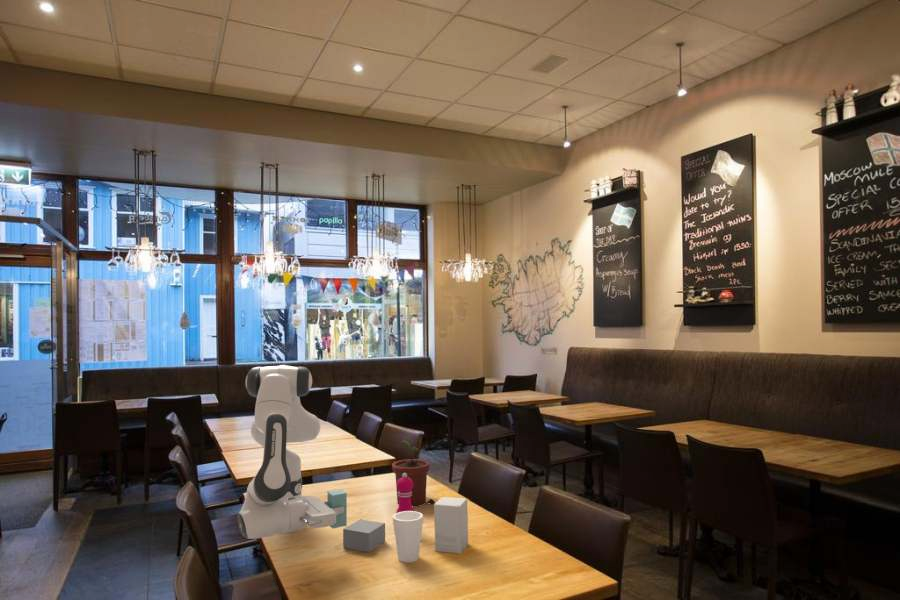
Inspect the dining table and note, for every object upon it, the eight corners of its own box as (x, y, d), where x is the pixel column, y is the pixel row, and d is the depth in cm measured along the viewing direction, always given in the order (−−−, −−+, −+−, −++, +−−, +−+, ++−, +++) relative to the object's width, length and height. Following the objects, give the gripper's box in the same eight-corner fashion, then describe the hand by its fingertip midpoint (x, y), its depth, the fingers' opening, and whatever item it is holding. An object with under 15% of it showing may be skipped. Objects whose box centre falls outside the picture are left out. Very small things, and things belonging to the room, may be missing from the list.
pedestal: (343, 547, 184) (343, 528, 185) (360, 536, 193) (360, 519, 194) (368, 552, 180) (368, 533, 180) (385, 541, 189) (385, 523, 189)
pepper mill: (412, 534, 195) (411, 476, 196) (392, 532, 197) (392, 475, 198) (417, 526, 202) (417, 470, 203) (398, 525, 204) (398, 470, 205)
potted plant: (381, 502, 231) (381, 441, 232) (419, 490, 247) (418, 433, 248) (411, 511, 219) (410, 447, 220) (448, 498, 235) (447, 438, 236)
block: (332, 528, 171) (332, 495, 171) (327, 524, 175) (327, 491, 175) (346, 525, 173) (346, 492, 174) (341, 521, 177) (341, 489, 178)
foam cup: (411, 566, 169) (411, 523, 169) (387, 560, 174) (386, 517, 174) (429, 555, 177) (428, 513, 177) (405, 549, 182) (405, 509, 182)
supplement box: (469, 543, 186) (468, 498, 187) (460, 554, 177) (460, 506, 178) (443, 540, 189) (442, 495, 190) (434, 551, 180) (433, 503, 181)
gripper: (306, 514, 159) (352, 505, 166) (286, 495, 176) (328, 488, 183) (306, 536, 159) (352, 526, 166) (286, 516, 176) (328, 507, 183)
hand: (339, 506), depth 175 cm, fingers closed on block, 4 cm apart
